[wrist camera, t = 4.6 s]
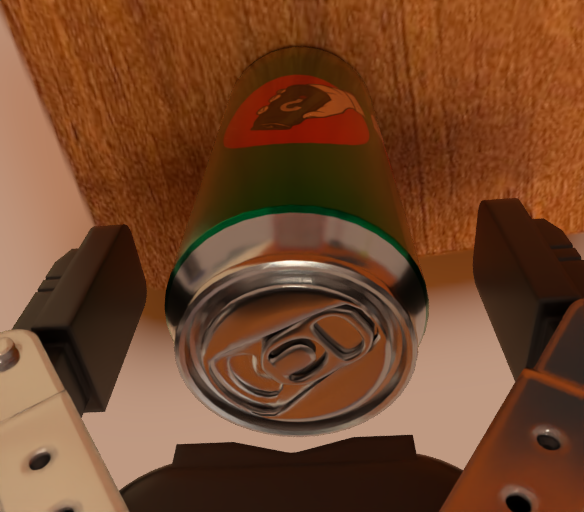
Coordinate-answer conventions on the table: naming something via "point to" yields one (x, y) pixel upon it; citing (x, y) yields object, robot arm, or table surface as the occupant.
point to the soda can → (297, 257)
